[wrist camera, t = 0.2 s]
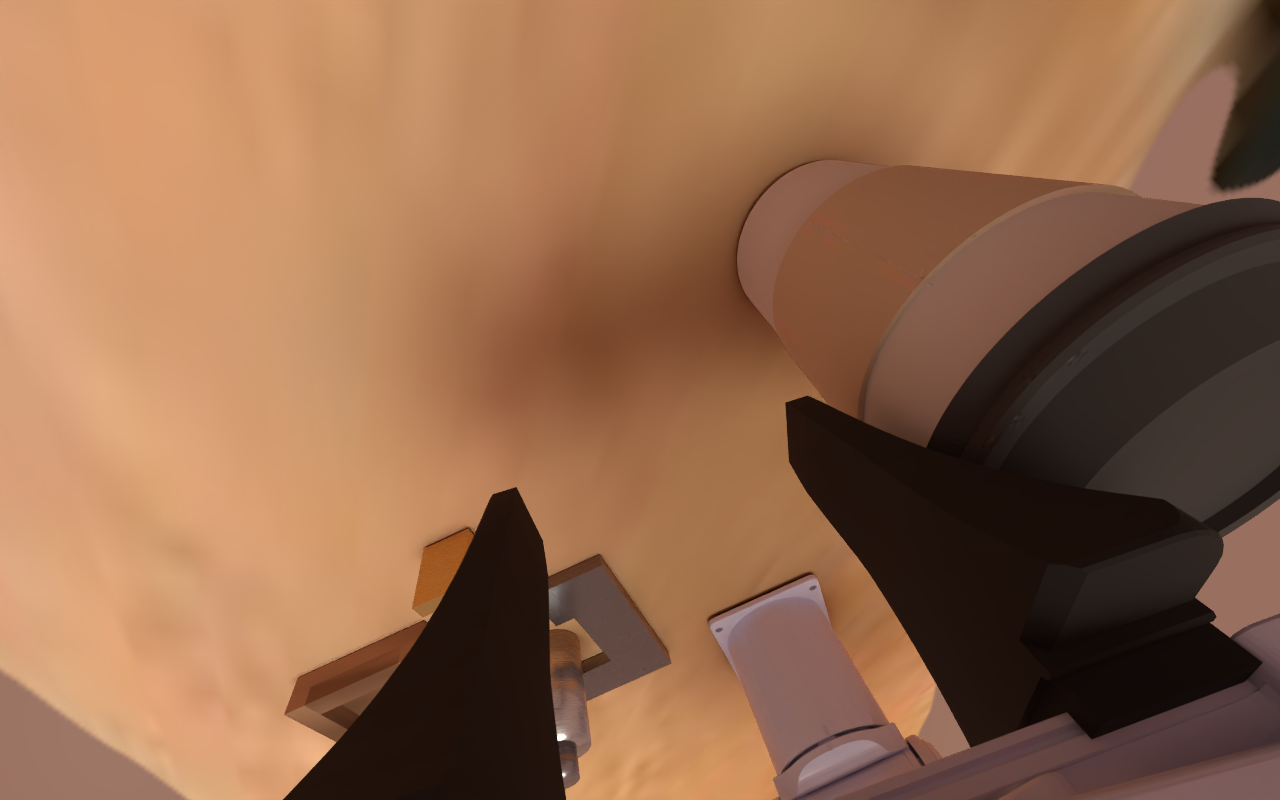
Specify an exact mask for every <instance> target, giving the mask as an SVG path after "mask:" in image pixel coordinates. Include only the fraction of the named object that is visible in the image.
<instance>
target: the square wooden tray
mask: <svg viewBox="0 0 1280 800" xmlns="http://www.w3.org/2000/svg"><path fill="white" fill-rule="evenodd" d="M426 625H427V623H426V622H425V621H422V622H420V623H418V624H416V625H413V626H411V627H409V628H407V629H405V630H402V631H400V632H398V633H396V634H394V635H391V636H389V637H387V638H385V639H383V640H380V641H378V642H376V643H374V644H372V645H369V646H367V647H365V648H363V649H361V650H358V651H356V652H354V653H352V654H350V655H347V656H345V657H343V658H341V659H339V660H336V661H334V662H332V663H330V664H328V665H325V666H323V667H321V668H319V669H317V670H314V671H312V672H310V673H308V674H306V675H303V676H301V677H299V678H298V679H297V682H296V684H295V687H294V690H293V693H292V695H291V698H290V701H289V703H288V706H287V709H286V711H285V714H284V715H286V716H288V717H290V718H292V719H293V720H295V721H297V722H299V723H301V724H303V725H305V726H307V727H309V728H311V729H313V730H315V731H316V732H318V733H320V734H322V735H324V736H326V737H328V738H330V739H332V740H334V741H336V742H337V741H338V740H339V739H340V738H341V737H342V736H343V734H344V733H345V732H346V731H347V730H348V729H349V727H350V726H351V725H352V724H353V723H354V722H355V720H356V719H357V718H358V717H359V716H360V715H361V713H362V712H363V711H364V710H365V708H366V707H367V706H368V705H369V704H370V702H371V701H372V700H373V699H374V697H375V696H376V695H377V694H378V692H379V691H380V690H381V688H382V687H383V686H384V684H385V683H386V682H387V680H388V679H389V678H390V676H391V675H392V674H393V672H394V671H395V670H396V668H397V667H398V666H399V664H400V663H401V661H402V660H403V659H404V657H405V656H406V655H407V653H408V652H409V651H410V649H411V648H412V646H413V645H414V643H415V642H416V640H417V639H418V637H419V636H420V634H421V633H422V631H423V629H424V628H425V626H426Z"/></svg>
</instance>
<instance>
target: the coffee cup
mask: <svg viewBox="0 0 1280 800" xmlns="http://www.w3.org/2000/svg"><path fill="white" fill-rule="evenodd" d="M737 268H738V275H739V279H740V283H741V285H742V288H743V290H744V292H745V294H746V295H747V297H748V298H749V300H750V301H751V302H752V303H753V305H754V306H755V307H756V308H757V310H758V311H759V312H760V313H761V314H762V316H763V317H764V318H765V319H766V321H767V322H768V323H769V324H770V325H771V327H772V328H773V329H774V330H775V332H776V333H777V334H778V337H779V339H780V341H781V343H782V345H783V346H784V348H785V349H786V351H787V352H788V353H789V354H790V356H791V357H792V358H793V360H794V361H795V362H796V363H797V365H798V366H799V367H800V369H801V370H802V371H803V372H804V374H805V375H806V376H807V378H808V379H809V380H810V381H811V383H812V384H813V385H814V387H815V388H816V389H817V390H818V392H819V393H820V394H821V396H822V397H823V398H824V399H825V401H826V402H827V403H828V405H829V406H831V407H833V408H835V409H837V410H839V411H841V412H844V413H846V414H848V415H850V416H852V417H854V418H856V419H858V420H861V421H863V422H865V423H867V424H869V425H872V426H874V427H876V428H878V429H881V430H883V431H885V432H887V433H890V434H892V435H895V436H897V437H899V438H902V439H905V440H907V441H910V442H912V443H915V444H917V445H920V446H923V447H925V448H928V449H931V450H934V451H936V452H939V453H942V454H945V455H949V456H952V457H955V458H958V459H961V460H965V461H968V462H971V463H974V464H978V465H981V466H985V467H989V468H992V469H997V470H1001V471H1005V472H1009V473H1013V474H1017V475H1021V476H1025V477H1030V478H1034V479H1039V480H1044V481H1048V482H1054V483H1059V484H1065V485H1070V486H1075V487H1081V488H1086V489H1093V490H1099V491H1107V492H1114V493H1121V494H1129V495H1136V496H1144V497H1151V498H1159V499H1164V500H1166V501H1168V502H1169V503H1171V504H1172V505H1174V506H1176V507H1177V508H1179V509H1181V510H1182V511H1184V512H1185V513H1187V514H1189V515H1190V516H1192V517H1194V518H1195V519H1197V520H1198V521H1200V522H1202V523H1203V524H1205V525H1207V526H1208V527H1210V528H1211V529H1213V530H1215V531H1216V532H1218V533H1219V534H1220V536H1221V538H1222V537H1224V536H1225V535H1227V534H1229V533H1230V532H1232V531H1233V530H1235V529H1237V528H1238V527H1240V526H1241V525H1243V524H1244V523H1246V522H1247V521H1249V520H1250V519H1252V518H1253V517H1255V516H1256V515H1258V514H1259V513H1261V512H1262V511H1263V510H1265V509H1266V508H1267V507H1269V506H1270V505H1272V504H1273V503H1274V502H1276V501H1277V500H1278V499H1280V202H1279V201H1275V200H1271V199H1264V198H1240V199H1231V200H1225V201H1221V202H1216V203H1211V204H1208V205H1200V204H1191V203H1184V202H1175V201H1167V200H1159V199H1151V198H1142V197H1141V196H1139V195H1138V194H1136V193H1134V192H1132V191H1130V190H1128V189H1125V188H1122V187H1118V186H1112V185H1104V184H1094V183H1084V182H1073V181H1063V180H1053V179H1043V178H1032V177H1022V176H1012V175H1002V174H991V173H981V172H971V171H961V170H950V169H940V168H930V167H920V166H894V167H889V166H881V165H873V164H865V163H857V162H848V161H840V160H821V161H815V162H812V163H808V164H805V165H803V166H800V167H798V168H796V169H794V170H792V171H790V172H789V173H787V174H786V175H784V176H783V177H781V178H780V179H779V180H777V181H776V182H775V183H774V184H773V185H772V186H771V187H770V188H769V189H768V190H767V191H766V192H765V193H764V194H763V195H762V196H761V198H760V199H759V200H758V202H757V203H756V204H755V206H754V207H753V209H752V211H751V212H750V214H749V216H748V218H747V220H746V222H745V225H744V227H743V230H742V233H741V236H740V240H739V245H738V252H737Z"/></svg>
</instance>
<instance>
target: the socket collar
mask: <svg viewBox="0 0 1280 800" xmlns="http://www.w3.org/2000/svg"><path fill="white" fill-rule="evenodd" d="M548 585H549V619H550V620H551V621H552V622H553V623H554V624H555V625H556V626H558V625H560V624H562V623H564V622H567V621H569V620H571V619H573V618H575V619H576V620H577V621H578V623H579V624H580V625H581V626H582V627H583V628H584V630H585V631H586V632H587V633H588V634H589V635H590V637H591V638H592V639H593V640H594V641H595V642H596V644H597V645H598V646H599V647H600V648H601V649H602V651H603V653H601V654H599V655H596V656H594V657H592V658H590V659H587V660H585V661H583V662H582V669H583V678H584V686H585V694H586V701H588V700H590V699H593V698H595V697H597V696H599V695H602V694H604V693H606V692H608V691H611V690H613V689H615V688H617V687H619V686H622V685H624V684H626V683H628V682H631V681H633V680H635V679H637V678H640V677H642V676H644V675H646V674H649V673H651V672H653V671H655V670H658V669H660V668H662V667H664V666H666V665H669V664H671V660H670V656H669V653H668V651H667V650H666V648H665V647H664V645H663V644H662V643H661V641H660V640H659V638H658V637H657V636H656V634H655V633H654V631H653V630H652V628H651V627H650V626H649V624H648V623H647V621H646V620H645V619H644V617H643V616H642V614H641V613H640V611H639V610H638V609H637V607H636V606H635V604H634V603H633V602H632V600H631V599H630V597H629V596H628V594H627V593H626V592H625V590H624V589H623V587H622V586H621V585H620V583H619V582H618V580H617V579H616V577H615V576H614V575H613V573H612V572H611V570H610V569H609V568H608V566H607V565H606V563H605V562H604V560H603V559H602V558H601V556H600V555H597V556H595V557H593V558H590V559H588V560H586V561H584V562H582V563H579V564H577V565H575V566H573V567H571V568H568V569H566V570H564V571H562V572H560V573H557V574H555V575H553V576H551V577H549V578H548Z"/></svg>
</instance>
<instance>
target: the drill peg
mask: <svg viewBox="0 0 1280 800" xmlns="http://www.w3.org/2000/svg"><path fill="white" fill-rule="evenodd" d="M549 633H550V672H551V687H552V696H553V704H554V713H555V721H556V730H557V737H558V745H559V752H560V760H561V768H562V775H563V782H564V788H565V789H566V788H569V787H571V786H573V785H574V784H576V783H577V782H578V781H579V779H580V776H579V766H578V758H579V757H581V756H582V755H583V754H585V753H586V752H587V751H588V750H589V748H590V746H591V736H590V728H589V720H588V711H587V703H586V694H585V686H584V678H583V669H582V661H581V653H580V644H579V639H578V637H577V636H576V635H575V634H574V633H572V632H570V631H567V630H549Z"/></svg>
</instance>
